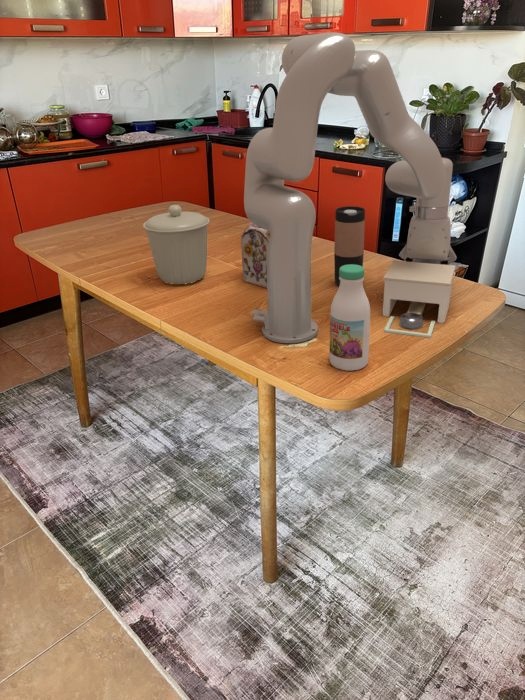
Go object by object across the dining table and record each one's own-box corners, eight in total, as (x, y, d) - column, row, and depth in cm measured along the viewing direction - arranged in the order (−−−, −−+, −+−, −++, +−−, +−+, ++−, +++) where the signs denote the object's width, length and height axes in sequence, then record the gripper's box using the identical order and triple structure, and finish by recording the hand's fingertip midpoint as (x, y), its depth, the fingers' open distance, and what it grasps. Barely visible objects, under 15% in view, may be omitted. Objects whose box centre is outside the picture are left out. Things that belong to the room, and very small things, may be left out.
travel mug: (345, 276, 156) (347, 204, 147) (368, 282, 151) (371, 208, 142) (328, 284, 152) (328, 210, 142) (350, 291, 147) (353, 214, 137)
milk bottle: (342, 350, 117) (345, 258, 108) (375, 360, 113) (380, 265, 104) (321, 364, 112) (322, 269, 103) (355, 375, 108) (359, 277, 99)
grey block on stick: (404, 319, 130) (407, 279, 125) (418, 285, 148) (421, 248, 143) (421, 321, 128) (425, 281, 124) (433, 286, 147) (437, 250, 142)
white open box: (381, 316, 132) (383, 277, 127) (390, 296, 142) (393, 260, 138) (445, 323, 127) (450, 283, 122) (451, 303, 137) (455, 265, 132)
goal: (384, 331, 124) (384, 329, 124) (390, 318, 131) (390, 316, 130) (430, 337, 121) (430, 335, 120) (434, 323, 127) (435, 321, 127)
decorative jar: (273, 291, 149) (270, 224, 141) (241, 282, 156) (237, 217, 148) (301, 278, 157) (300, 214, 148) (270, 270, 164) (268, 208, 156)
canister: (181, 265, 171) (173, 195, 162) (227, 274, 162) (221, 201, 152) (137, 283, 159) (126, 208, 149) (184, 295, 149) (175, 216, 139)
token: (400, 329, 125) (401, 321, 124) (398, 320, 129) (399, 312, 129) (423, 330, 125) (424, 322, 124) (420, 320, 129) (421, 312, 128)
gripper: (393, 214, 135) (389, 285, 143) (467, 217, 129) (457, 291, 137) (399, 206, 141) (394, 275, 149) (469, 209, 135) (460, 281, 144)
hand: (424, 282), depth 143 cm, fingers closed on grey block on stick, 4 cm apart
